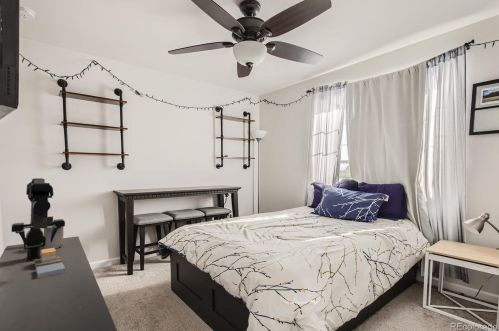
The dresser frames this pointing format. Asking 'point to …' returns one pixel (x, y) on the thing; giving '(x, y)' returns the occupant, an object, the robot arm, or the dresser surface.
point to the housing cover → (48, 252)
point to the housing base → (48, 259)
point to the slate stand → (50, 270)
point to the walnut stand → (38, 262)
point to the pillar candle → (57, 238)
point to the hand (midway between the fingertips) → (38, 243)
